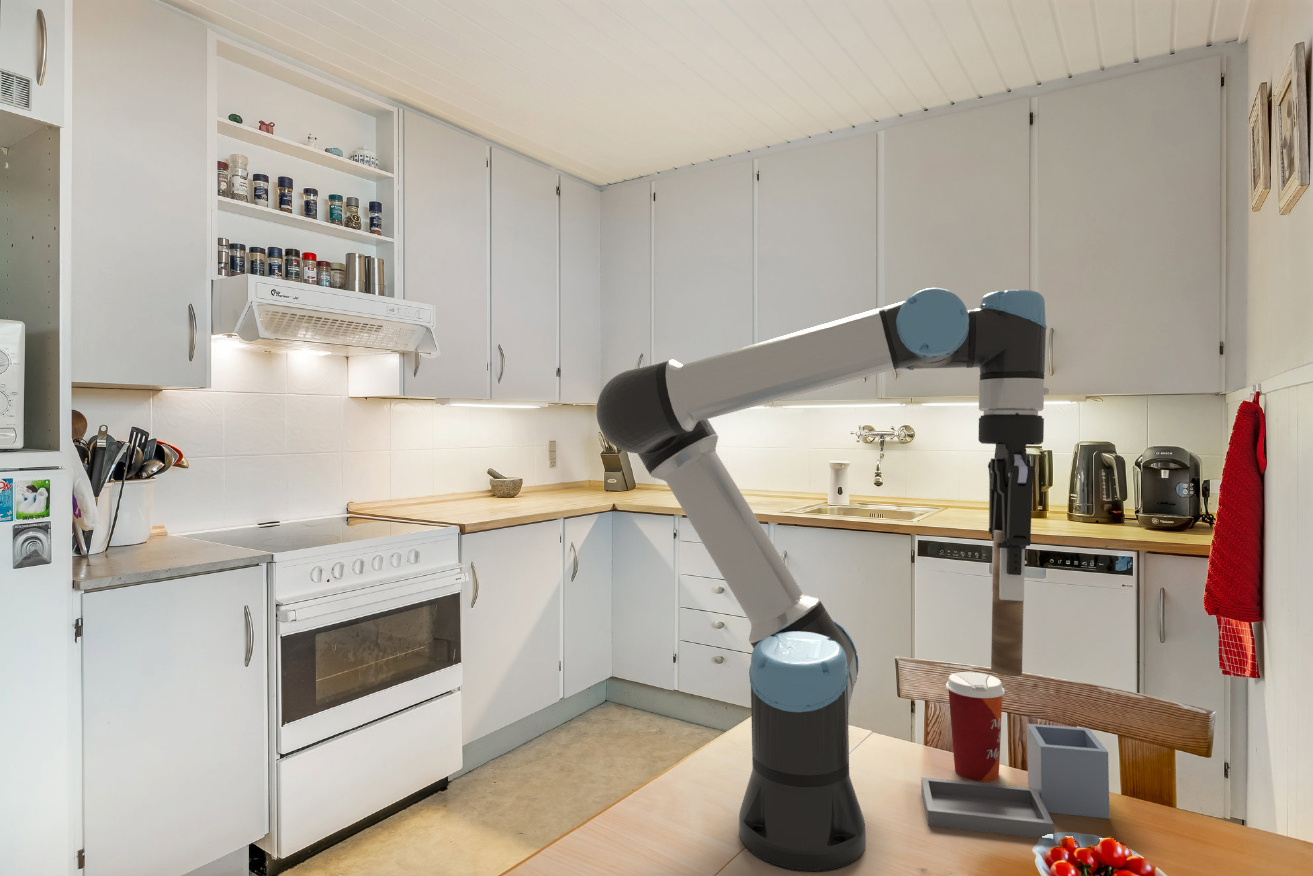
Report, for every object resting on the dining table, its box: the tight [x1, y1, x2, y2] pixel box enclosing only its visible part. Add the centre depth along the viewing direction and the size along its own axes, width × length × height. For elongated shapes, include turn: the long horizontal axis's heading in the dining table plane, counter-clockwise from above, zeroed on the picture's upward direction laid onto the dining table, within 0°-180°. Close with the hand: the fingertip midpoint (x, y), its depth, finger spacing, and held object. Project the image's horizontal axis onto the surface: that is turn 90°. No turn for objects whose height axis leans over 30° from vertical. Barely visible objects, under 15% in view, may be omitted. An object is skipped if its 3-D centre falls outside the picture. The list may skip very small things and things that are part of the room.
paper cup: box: [945, 671, 1006, 783], centre depth 103 cm, size 8×8×14 cm
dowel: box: [990, 530, 1024, 677], centre depth 94 cm, size 4×4×18 cm
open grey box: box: [1026, 723, 1110, 820], centre depth 95 cm, size 8×8×9 cm
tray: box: [920, 777, 1055, 839], centre depth 92 cm, size 14×9×3 cm, turn 75°
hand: (1007, 595), depth 94 cm, fingers closed on dowel, 3 cm apart
